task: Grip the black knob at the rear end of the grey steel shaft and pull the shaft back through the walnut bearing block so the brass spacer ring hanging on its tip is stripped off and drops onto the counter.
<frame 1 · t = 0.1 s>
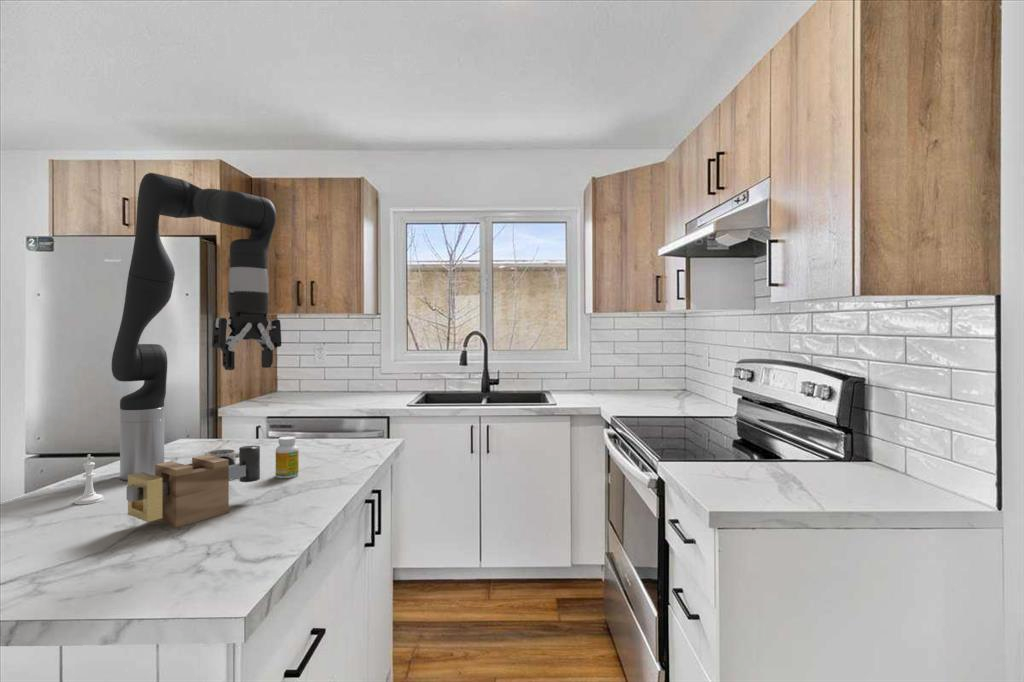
hand: (248, 368, 113), 29 cm above the countertop, tool pointing down, fingers open, 8 cm apart
spacer: (145, 516, 100), point 2 cm above the countertop, touching shaft
mug: (227, 478, 136), on the countertop
chess piece: (89, 502, 116), on the countertop
supplement bottle: (287, 476, 138), on the countertop
bearing block: (192, 515, 107), on the countertop
shaft: (200, 473, 108), point 8 cm above the countertop, slide at 0.0 cm, touching spacer
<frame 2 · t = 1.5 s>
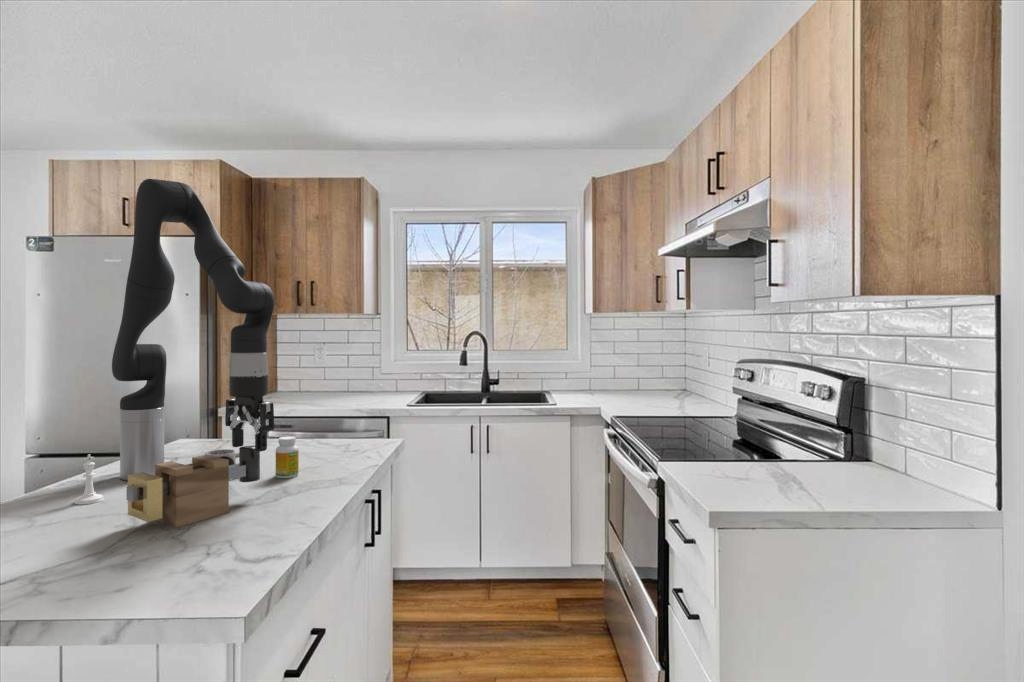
hand: (249, 448, 117), 11 cm above the countertop, tool pointing down, fingers open, 8 cm apart
nothing on the countertop moved.
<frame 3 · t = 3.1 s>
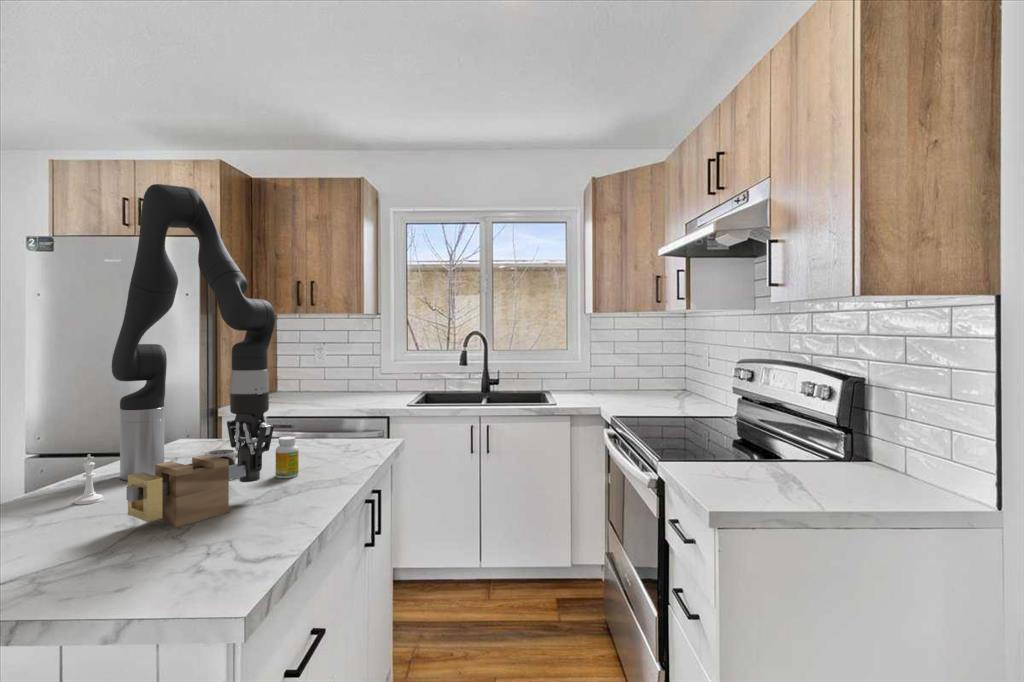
hand: (249, 469, 117), 7 cm above the countertop, tool pointing down, fingers closed on shaft, 4 cm apart
shaft: (200, 473, 108), point 8 cm above the countertop, slide at 0.0 cm, touching gripper, spacer
everything else where it was.
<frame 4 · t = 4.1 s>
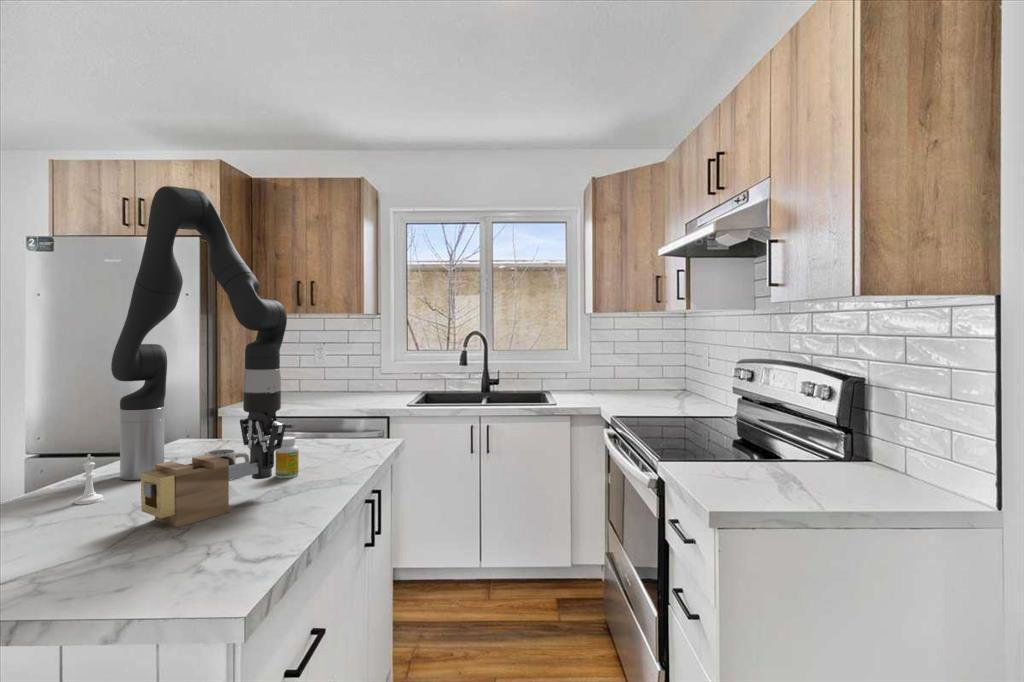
hand: (261, 466, 120), 7 cm above the countertop, tool pointing down, fingers closed on shaft, 4 cm apart
spacer: (158, 512, 102), point 2 cm above the countertop, touching bearing block
shaft: (214, 470, 111), point 8 cm above the countertop, slide at 2.9 cm, touching gripper
everything else where it was.
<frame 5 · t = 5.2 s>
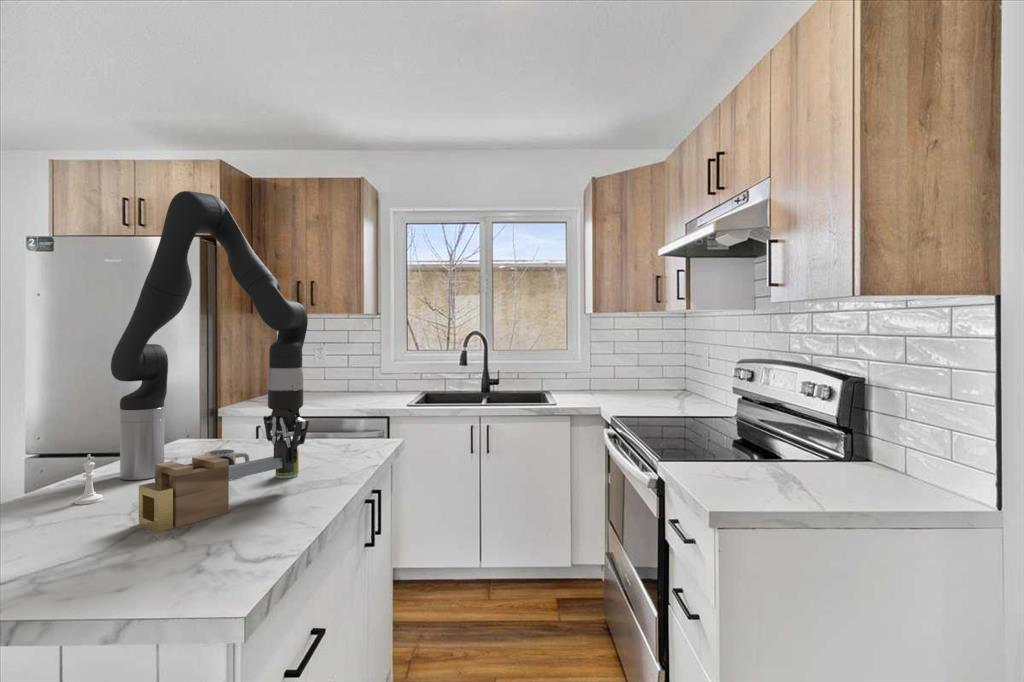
hand: (285, 461, 125), 7 cm above the countertop, tool pointing down, fingers closed on shaft, 4 cm apart
spacer: (155, 526, 102), on the countertop
shaft: (241, 465, 116), point 8 cm above the countertop, slide at 8.7 cm, touching gripper
everything else where it was.
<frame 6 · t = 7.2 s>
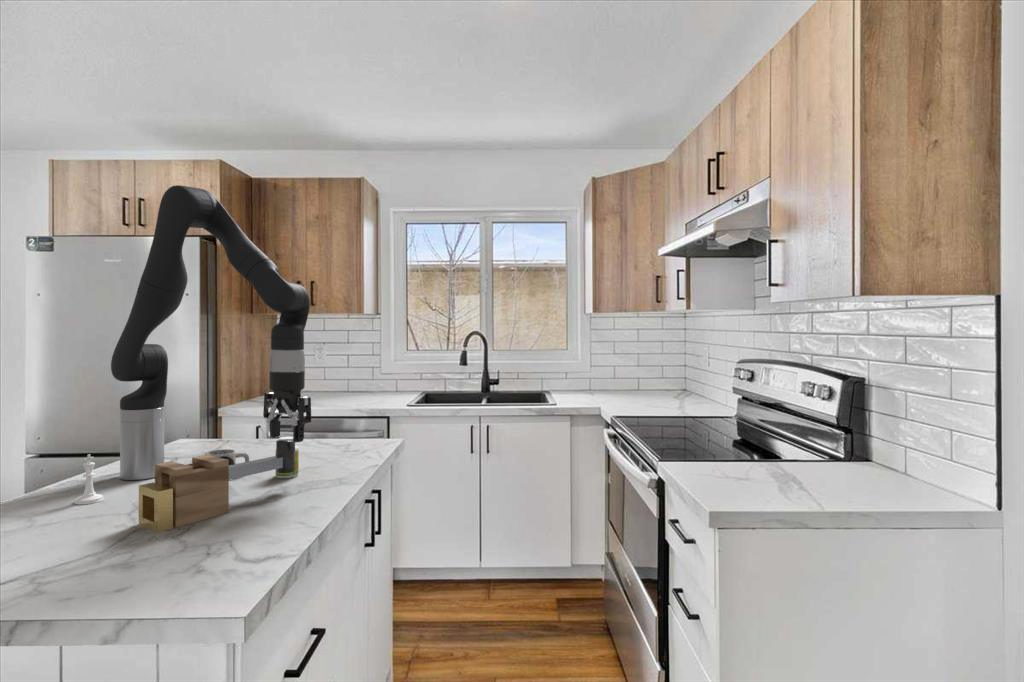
hand: (286, 439, 125), 12 cm above the countertop, tool pointing down, fingers open, 8 cm apart
shaft: (242, 465, 116), point 8 cm above the countertop, slide at 8.8 cm
everything else where it was.
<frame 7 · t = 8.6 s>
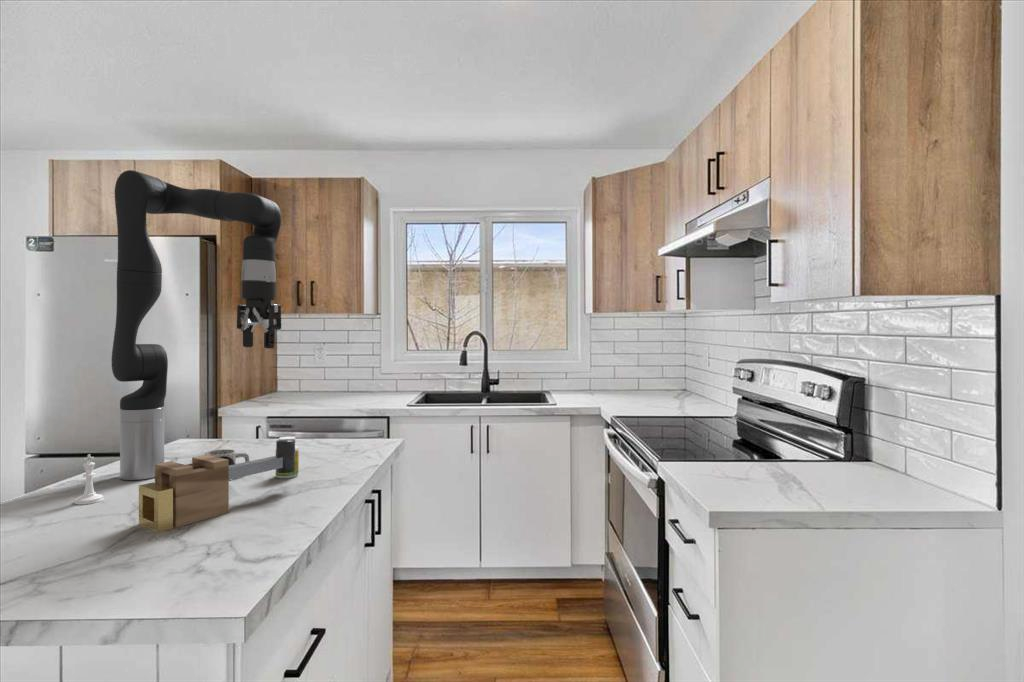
hand: (258, 347, 130), 33 cm above the countertop, tool pointing down, fingers open, 8 cm apart
nothing on the countertop moved.
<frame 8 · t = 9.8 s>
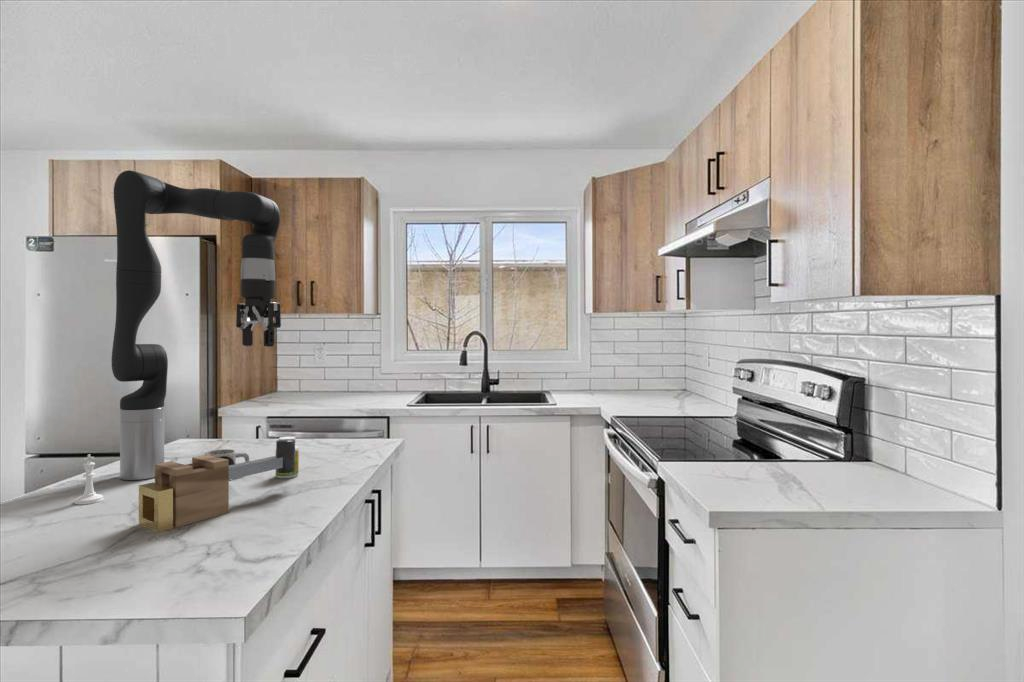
hand: (258, 346, 130), 33 cm above the countertop, tool pointing down, fingers open, 8 cm apart
nothing on the countertop moved.
at the end: shaft slide at 8.8 cm; spacer touching countertop; spacer inside the target area (3.8 cm from its centre), on the countertop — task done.
